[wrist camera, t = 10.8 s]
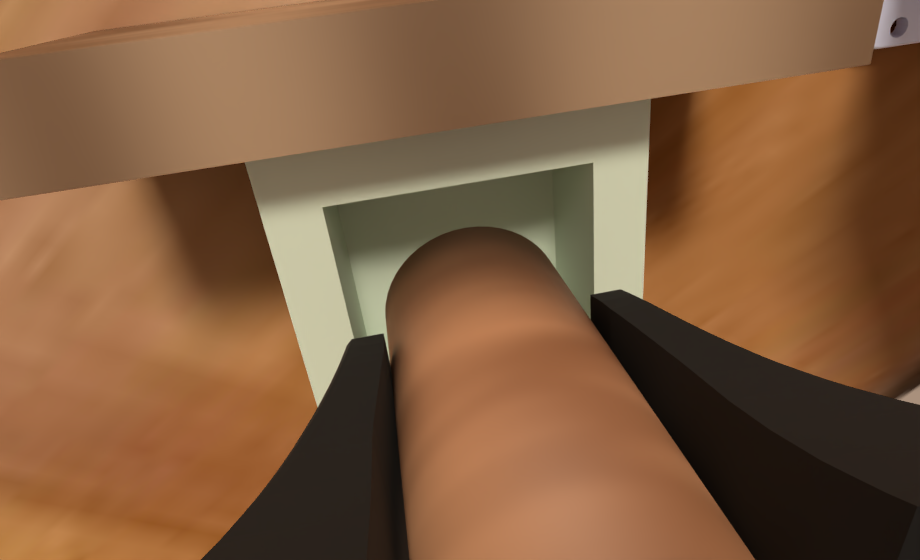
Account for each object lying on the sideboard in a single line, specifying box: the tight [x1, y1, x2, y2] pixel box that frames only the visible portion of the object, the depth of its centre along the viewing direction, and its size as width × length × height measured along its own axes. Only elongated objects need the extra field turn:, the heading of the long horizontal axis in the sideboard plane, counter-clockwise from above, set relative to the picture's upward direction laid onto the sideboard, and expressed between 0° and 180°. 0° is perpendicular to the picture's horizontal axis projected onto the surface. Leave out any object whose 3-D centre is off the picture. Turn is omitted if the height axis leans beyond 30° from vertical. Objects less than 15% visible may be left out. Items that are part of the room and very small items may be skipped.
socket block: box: [245, 99, 651, 407], centre depth 15 cm, size 8×8×4 cm
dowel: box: [385, 226, 755, 560], centre depth 10 cm, size 4×4×8 cm
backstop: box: [0, 0, 884, 200], centre depth 15 cm, size 15×16×6 cm
